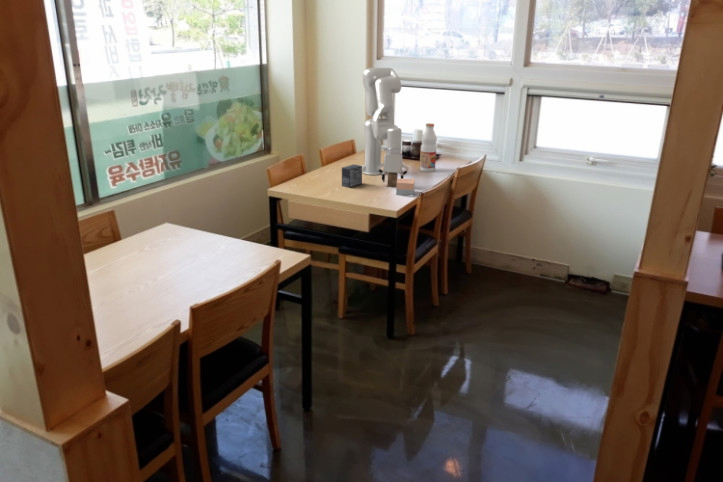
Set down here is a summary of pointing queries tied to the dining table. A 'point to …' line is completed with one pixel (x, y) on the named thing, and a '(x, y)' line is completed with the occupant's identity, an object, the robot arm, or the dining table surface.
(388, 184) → the block
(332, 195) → the dining table surface
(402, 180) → the tower top
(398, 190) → the tower base
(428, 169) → the fruit juice
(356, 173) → the small box
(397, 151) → the robot arm
